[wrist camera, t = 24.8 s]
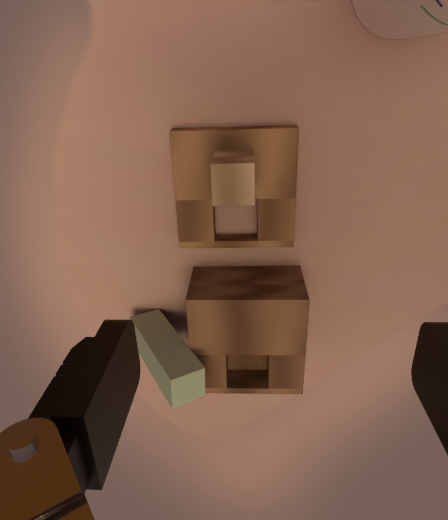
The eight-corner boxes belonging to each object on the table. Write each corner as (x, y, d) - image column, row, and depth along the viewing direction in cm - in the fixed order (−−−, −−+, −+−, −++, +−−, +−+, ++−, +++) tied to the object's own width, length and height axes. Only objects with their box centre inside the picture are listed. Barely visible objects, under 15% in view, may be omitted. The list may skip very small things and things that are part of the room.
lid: (296, 125, 33) (308, 138, 27) (291, 240, 37) (300, 273, 31) (172, 128, 33) (157, 142, 27) (182, 241, 37) (170, 274, 32)
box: (300, 266, 38) (309, 299, 33) (295, 351, 42) (302, 393, 37) (193, 267, 39) (185, 300, 33) (199, 351, 43) (193, 393, 37)
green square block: (204, 367, 33) (158, 308, 41) (170, 380, 32) (129, 317, 39) (205, 395, 34) (160, 333, 42) (172, 408, 33) (132, 342, 41)
